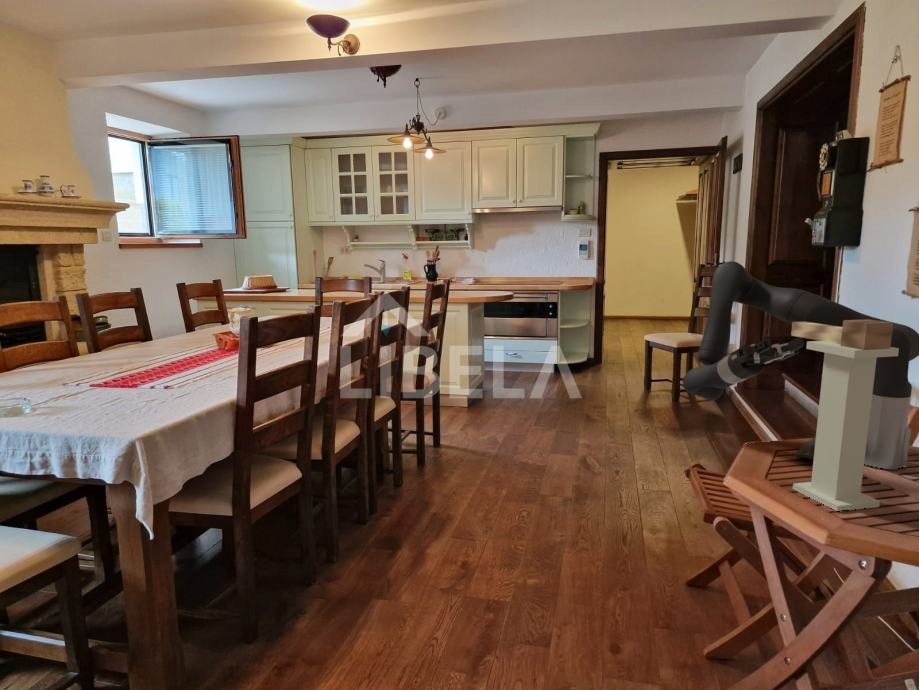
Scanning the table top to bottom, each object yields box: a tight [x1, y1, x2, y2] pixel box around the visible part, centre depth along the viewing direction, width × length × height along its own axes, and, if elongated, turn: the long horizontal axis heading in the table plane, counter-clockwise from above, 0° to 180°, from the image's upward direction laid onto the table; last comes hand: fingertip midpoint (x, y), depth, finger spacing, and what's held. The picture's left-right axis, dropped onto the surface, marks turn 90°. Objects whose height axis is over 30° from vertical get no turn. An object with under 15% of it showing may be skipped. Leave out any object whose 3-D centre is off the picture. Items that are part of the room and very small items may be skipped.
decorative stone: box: [794, 437, 816, 460], centre depth 138 cm, size 17×6×4 cm, turn 130°
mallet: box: [790, 320, 893, 350], centre depth 113 cm, size 19×6×5 cm, turn 12°
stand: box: [792, 340, 899, 512], centre depth 112 cm, size 11×10×32 cm
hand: (785, 341), depth 126 cm, fingers open, 8 cm apart
